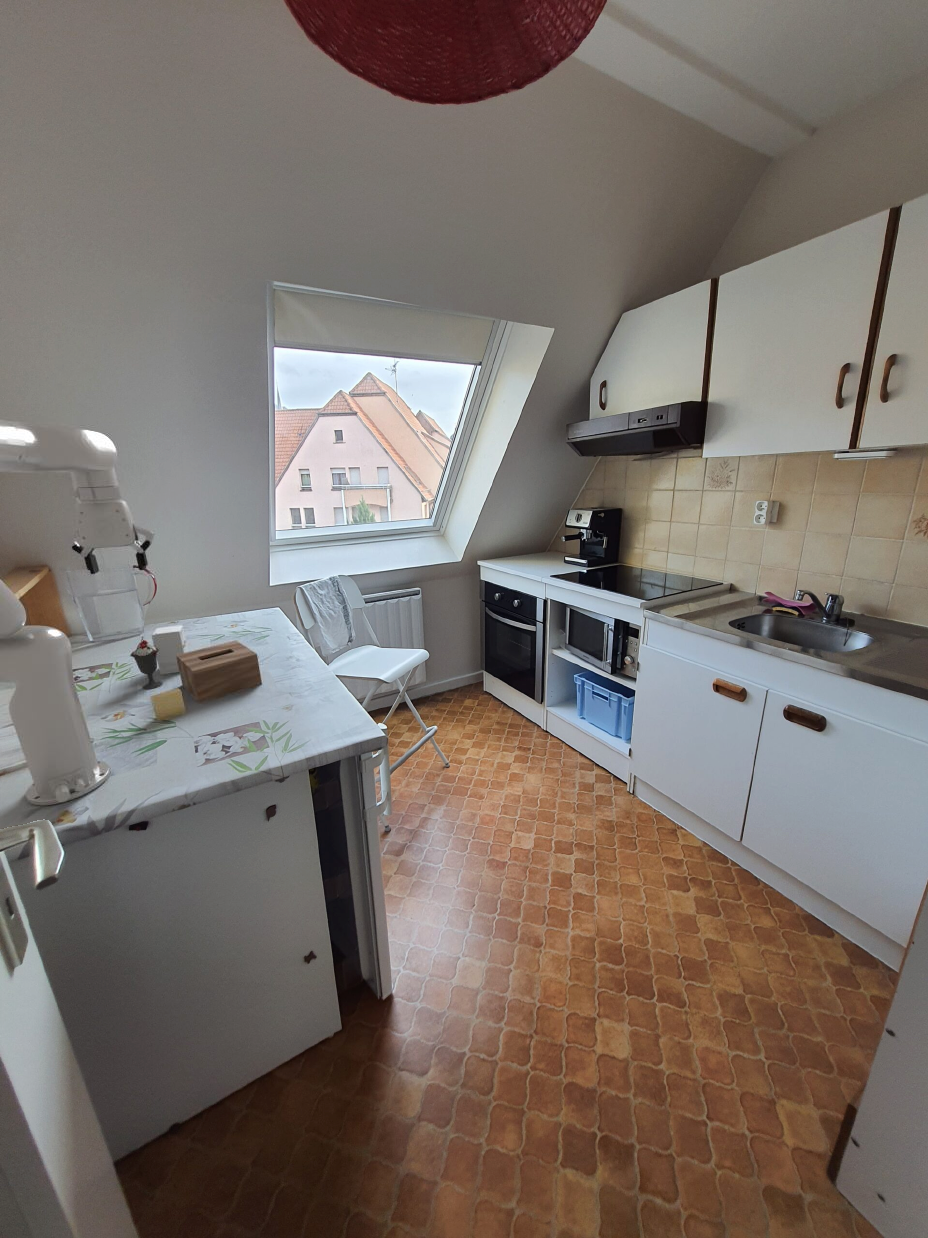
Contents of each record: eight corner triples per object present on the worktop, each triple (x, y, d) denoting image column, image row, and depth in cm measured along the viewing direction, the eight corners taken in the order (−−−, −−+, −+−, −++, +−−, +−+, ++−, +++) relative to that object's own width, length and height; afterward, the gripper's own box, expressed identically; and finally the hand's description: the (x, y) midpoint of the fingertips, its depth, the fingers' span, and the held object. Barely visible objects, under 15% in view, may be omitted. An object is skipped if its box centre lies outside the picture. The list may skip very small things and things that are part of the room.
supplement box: (188, 671, 144) (179, 631, 140) (159, 675, 141) (150, 634, 138) (191, 662, 151) (183, 624, 147) (164, 666, 148) (155, 627, 144)
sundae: (153, 691, 131) (141, 639, 126) (132, 689, 132) (119, 638, 128) (172, 681, 137) (160, 631, 132) (152, 680, 138) (140, 630, 134)
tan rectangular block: (185, 713, 118) (181, 691, 117) (158, 722, 114) (152, 699, 113) (183, 710, 120) (178, 688, 118) (156, 718, 116) (150, 696, 114)
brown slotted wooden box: (262, 683, 133) (256, 653, 131) (199, 703, 123) (192, 671, 120) (241, 668, 145) (236, 640, 142) (182, 685, 134) (175, 655, 132)
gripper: (45, 498, 101) (68, 577, 106) (139, 494, 106) (157, 570, 111) (61, 496, 107) (82, 571, 113) (149, 493, 112) (165, 565, 118)
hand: (119, 571), depth 112 cm, fingers open, 9 cm apart
